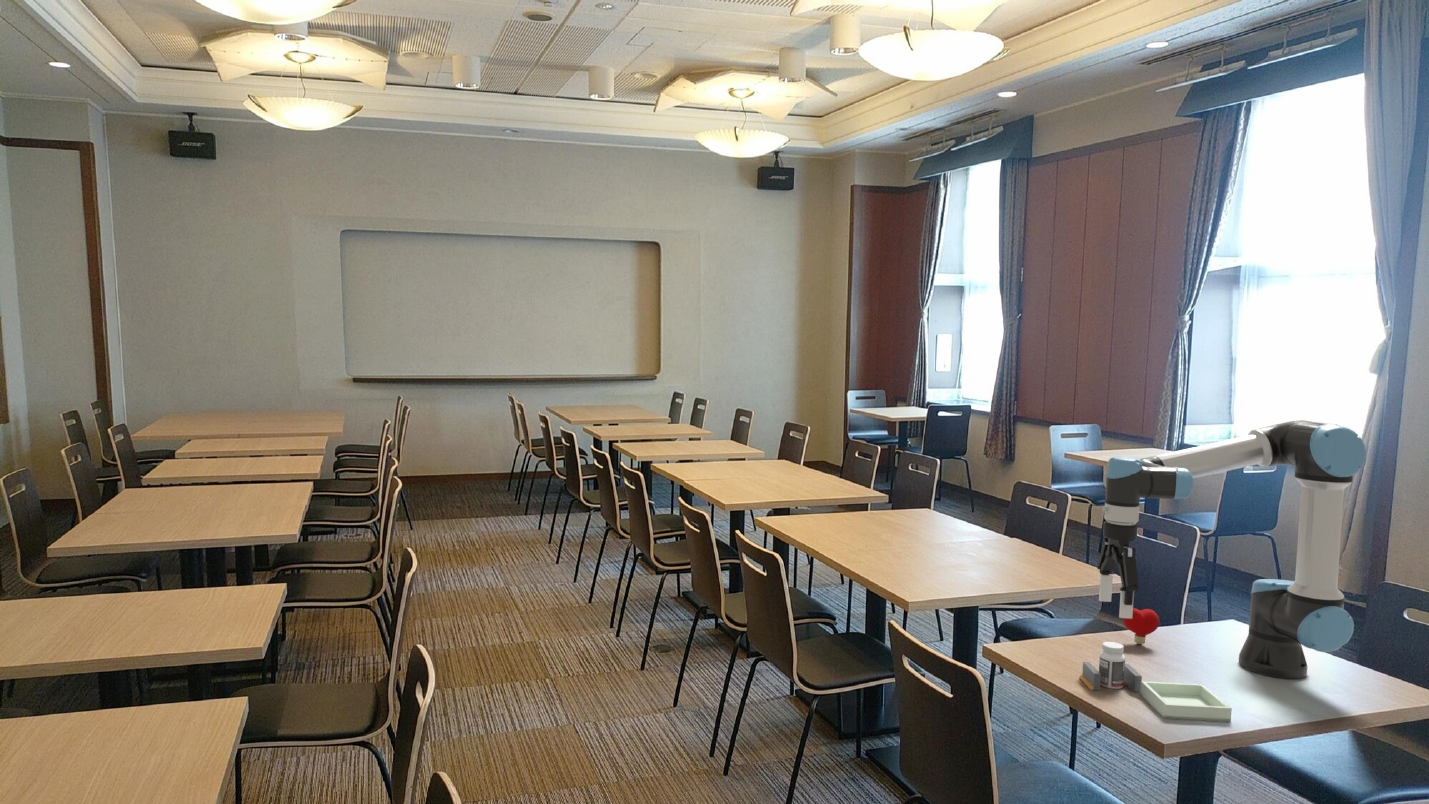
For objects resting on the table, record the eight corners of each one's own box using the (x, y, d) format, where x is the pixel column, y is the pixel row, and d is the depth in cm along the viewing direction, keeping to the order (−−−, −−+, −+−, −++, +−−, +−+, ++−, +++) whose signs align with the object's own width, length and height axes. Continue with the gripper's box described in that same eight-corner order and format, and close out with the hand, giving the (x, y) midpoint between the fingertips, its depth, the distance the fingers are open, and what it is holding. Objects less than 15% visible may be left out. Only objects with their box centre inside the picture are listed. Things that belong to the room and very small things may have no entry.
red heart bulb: (1125, 647, 251) (1127, 611, 251) (1118, 639, 258) (1120, 604, 257) (1161, 650, 250) (1163, 614, 249) (1153, 642, 257) (1155, 606, 256)
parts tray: (1201, 697, 217) (1202, 684, 217) (1230, 722, 203) (1231, 708, 203) (1140, 694, 218) (1141, 681, 218) (1165, 718, 204) (1166, 704, 204)
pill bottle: (1124, 683, 225) (1126, 643, 224) (1123, 691, 220) (1126, 650, 219) (1098, 679, 227) (1101, 639, 226) (1097, 686, 222) (1100, 646, 221)
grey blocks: (1130, 680, 227) (1131, 664, 227) (1143, 692, 219) (1144, 676, 219) (1079, 677, 228) (1080, 661, 227) (1090, 689, 220) (1091, 673, 219)
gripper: (1087, 511, 233) (1081, 594, 235) (1124, 532, 208) (1118, 624, 210) (1117, 512, 233) (1112, 595, 234) (1158, 533, 208) (1151, 626, 209)
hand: (1114, 609), depth 222 cm, fingers open, 13 cm apart
